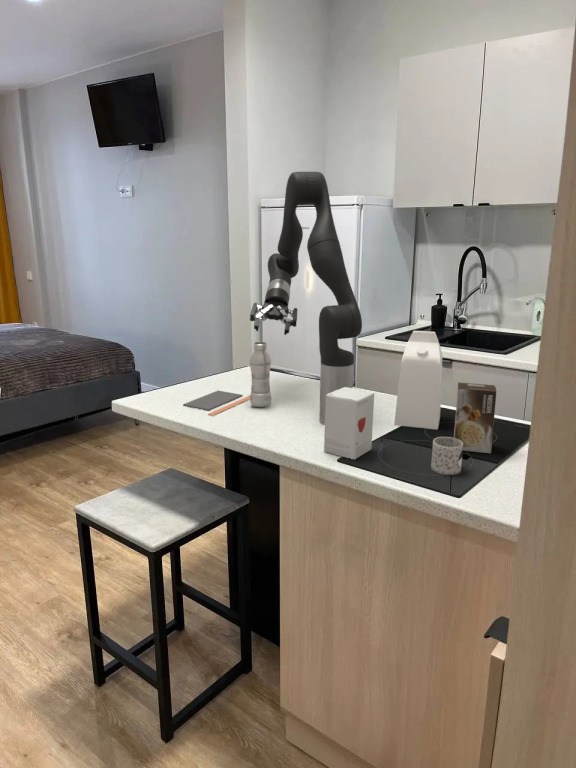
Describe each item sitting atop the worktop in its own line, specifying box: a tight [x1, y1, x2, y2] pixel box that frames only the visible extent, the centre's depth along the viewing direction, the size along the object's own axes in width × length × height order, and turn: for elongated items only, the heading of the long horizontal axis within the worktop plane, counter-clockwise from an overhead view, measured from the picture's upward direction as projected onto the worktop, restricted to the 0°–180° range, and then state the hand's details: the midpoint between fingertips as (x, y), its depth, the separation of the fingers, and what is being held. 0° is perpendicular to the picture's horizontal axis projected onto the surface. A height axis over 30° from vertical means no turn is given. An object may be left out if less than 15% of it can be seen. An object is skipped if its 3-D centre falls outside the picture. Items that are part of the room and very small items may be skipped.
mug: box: [430, 436, 463, 476], centre depth 129 cm, size 10×7×7 cm
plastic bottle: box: [249, 341, 273, 408], centre depth 170 cm, size 6×7×20 cm
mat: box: [182, 390, 244, 412], centre depth 177 cm, size 10×18×1 cm, turn 150°
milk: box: [393, 330, 443, 430], centre depth 157 cm, size 12×12×26 cm
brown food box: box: [453, 382, 497, 454], centre depth 138 cm, size 9×6×16 cm
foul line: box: [207, 395, 250, 417], centre depth 174 cm, size 2×24×1 cm, turn 150°
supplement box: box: [323, 387, 375, 461], centre depth 136 cm, size 9×9×15 cm
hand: (271, 330), depth 165 cm, fingers open, 8 cm apart
